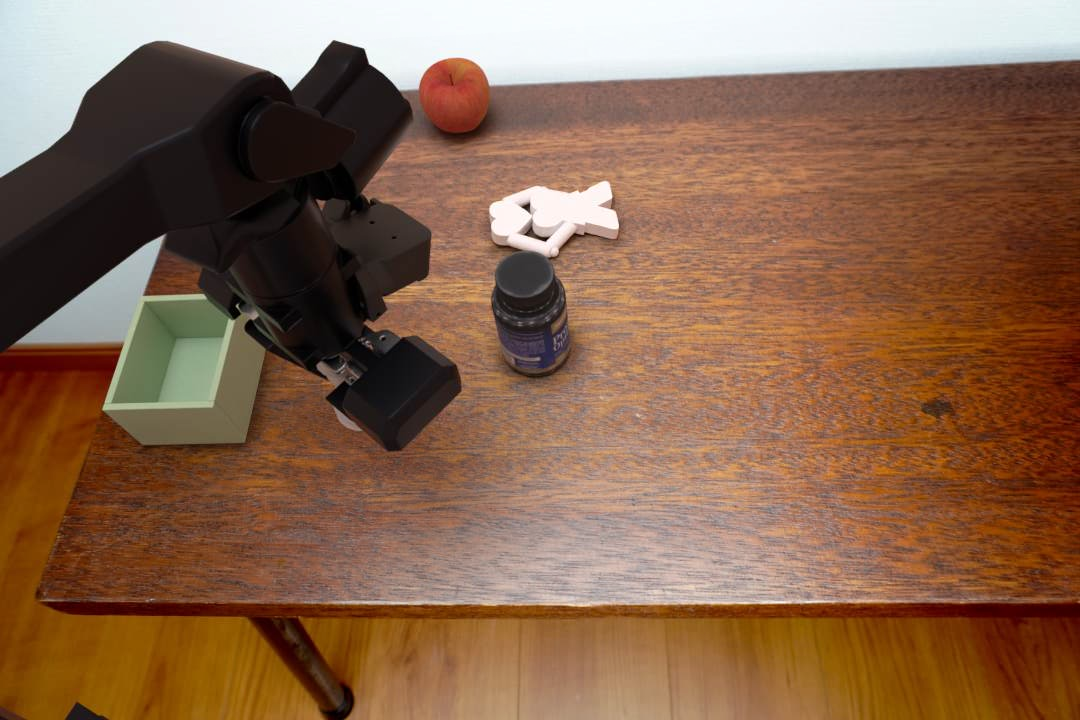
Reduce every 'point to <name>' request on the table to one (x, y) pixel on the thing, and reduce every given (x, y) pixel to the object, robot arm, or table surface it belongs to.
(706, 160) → the table surface
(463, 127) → the apple
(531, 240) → the white abstract figurine
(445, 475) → the table surface
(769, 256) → the table surface
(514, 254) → the pill bottle
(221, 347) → the bin
